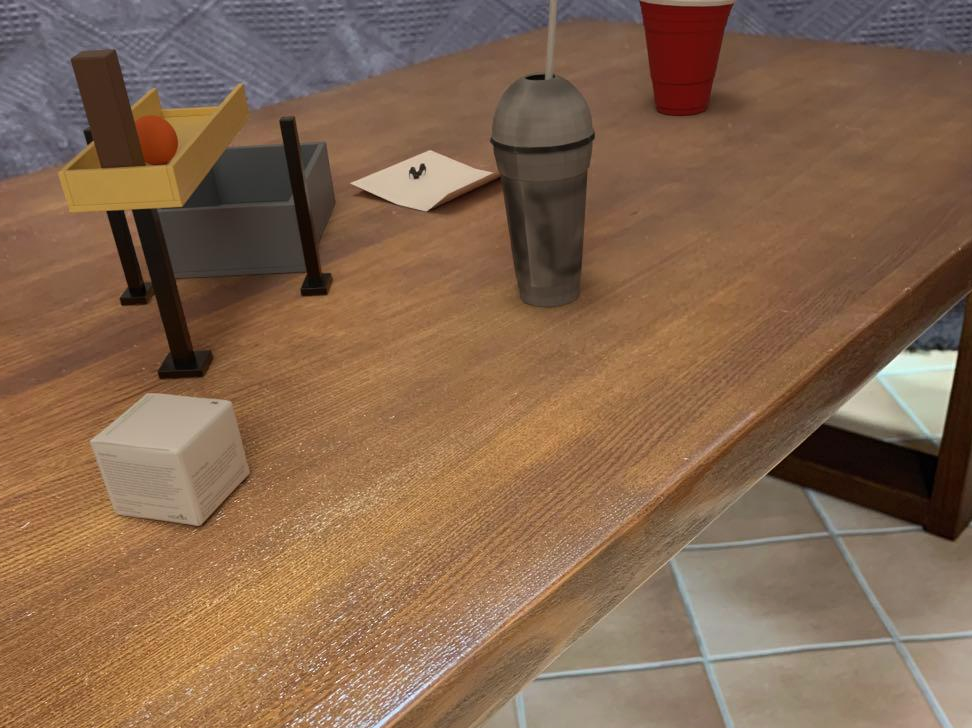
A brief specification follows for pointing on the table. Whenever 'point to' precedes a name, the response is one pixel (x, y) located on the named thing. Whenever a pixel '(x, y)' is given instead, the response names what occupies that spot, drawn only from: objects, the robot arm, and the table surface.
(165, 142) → the toy ball
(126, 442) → the small box
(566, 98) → the beverage cup
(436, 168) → the folded paper
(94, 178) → the trough
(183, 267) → the bin
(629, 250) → the table surface
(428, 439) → the table surface
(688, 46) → the plastic cup
